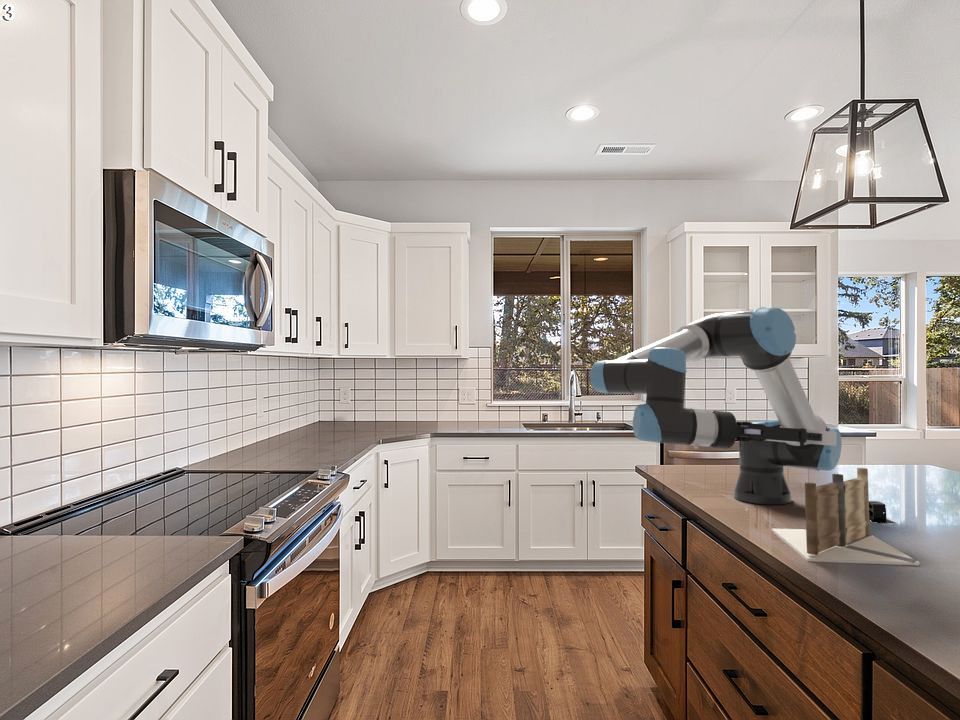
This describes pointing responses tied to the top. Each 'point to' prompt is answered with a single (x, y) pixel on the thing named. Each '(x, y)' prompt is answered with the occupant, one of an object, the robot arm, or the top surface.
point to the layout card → (847, 550)
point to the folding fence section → (821, 517)
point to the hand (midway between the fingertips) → (814, 437)
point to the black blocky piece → (878, 512)
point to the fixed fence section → (853, 506)
